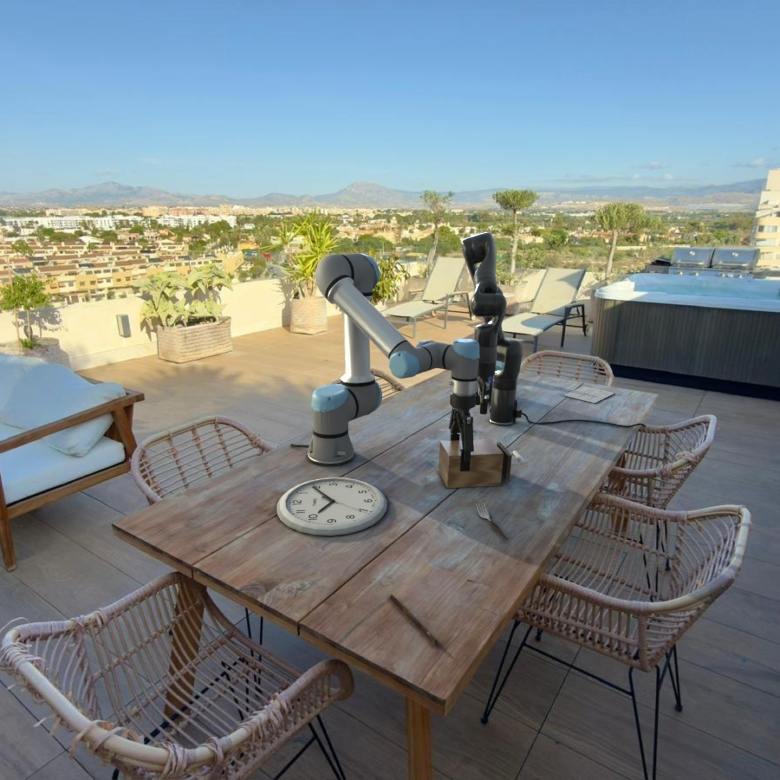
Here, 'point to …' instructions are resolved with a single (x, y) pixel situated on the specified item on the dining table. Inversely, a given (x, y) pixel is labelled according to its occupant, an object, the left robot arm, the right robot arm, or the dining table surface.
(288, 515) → the wall clock
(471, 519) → the dining table surface
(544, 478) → the dining table surface
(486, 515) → the fork
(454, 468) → the cabinet
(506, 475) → the drawer
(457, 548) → the dining table surface
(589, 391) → the invitation card
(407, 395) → the dining table surface
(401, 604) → the dark brown rod
